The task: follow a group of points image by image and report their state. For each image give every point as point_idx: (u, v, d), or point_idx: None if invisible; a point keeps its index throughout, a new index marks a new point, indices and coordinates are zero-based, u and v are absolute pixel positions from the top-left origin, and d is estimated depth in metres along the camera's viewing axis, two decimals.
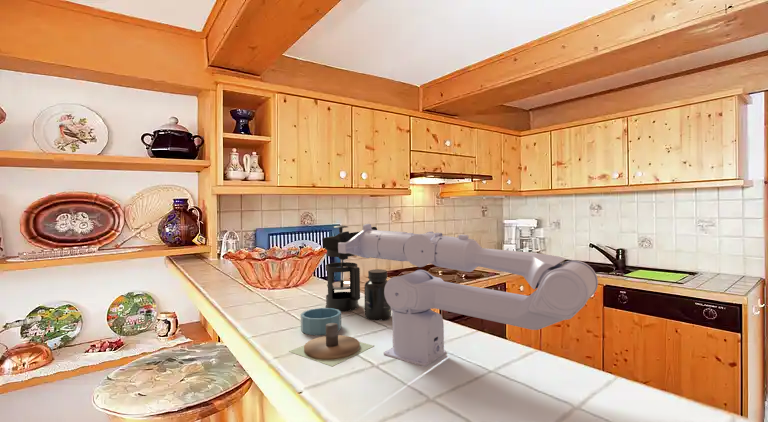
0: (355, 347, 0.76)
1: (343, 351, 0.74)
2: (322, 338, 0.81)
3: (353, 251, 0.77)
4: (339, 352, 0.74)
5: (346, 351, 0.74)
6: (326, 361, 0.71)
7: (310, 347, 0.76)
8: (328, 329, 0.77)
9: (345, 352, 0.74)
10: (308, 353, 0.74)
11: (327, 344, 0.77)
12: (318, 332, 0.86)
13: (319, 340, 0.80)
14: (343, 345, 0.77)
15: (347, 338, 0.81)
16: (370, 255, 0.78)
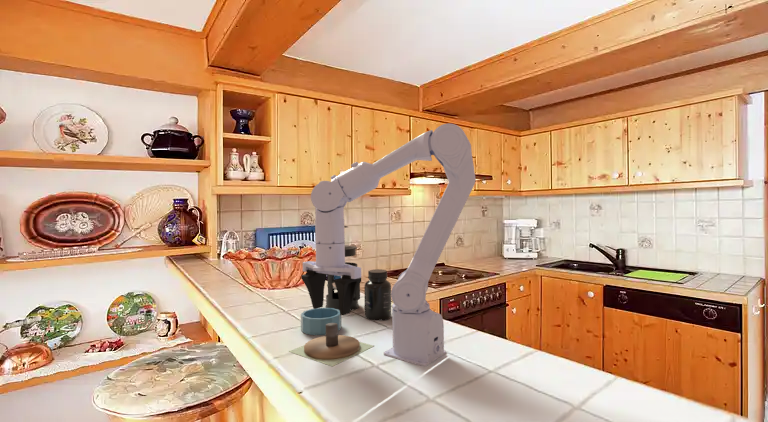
0: (355, 347, 0.76)
1: (343, 351, 0.74)
2: (322, 338, 0.81)
3: (351, 267, 0.75)
4: (339, 352, 0.74)
5: (346, 351, 0.74)
6: (326, 361, 0.71)
7: (310, 347, 0.76)
8: (328, 329, 0.77)
9: (345, 352, 0.74)
10: (308, 353, 0.74)
11: (327, 344, 0.77)
12: (318, 332, 0.86)
13: (319, 340, 0.80)
14: (343, 345, 0.77)
15: (346, 338, 0.81)
16: (344, 254, 0.78)
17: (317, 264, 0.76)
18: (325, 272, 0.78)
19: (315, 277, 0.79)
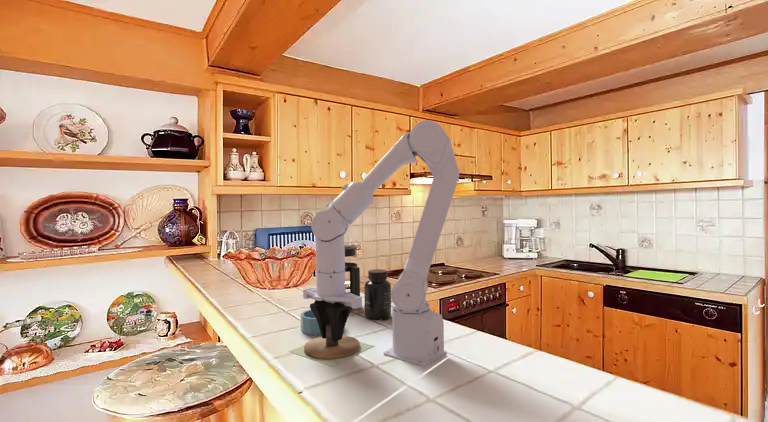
0: (355, 347, 0.76)
1: (343, 351, 0.74)
2: (322, 338, 0.81)
3: (352, 295, 0.75)
4: (340, 352, 0.74)
5: (346, 351, 0.74)
6: (326, 361, 0.71)
7: (310, 347, 0.76)
8: (328, 329, 0.77)
9: (345, 352, 0.74)
10: (308, 353, 0.74)
11: (327, 344, 0.77)
12: (318, 332, 0.86)
13: (319, 340, 0.80)
14: (343, 345, 0.77)
15: (346, 338, 0.81)
16: None
17: (318, 293, 0.76)
18: (326, 300, 0.78)
19: (324, 306, 0.78)
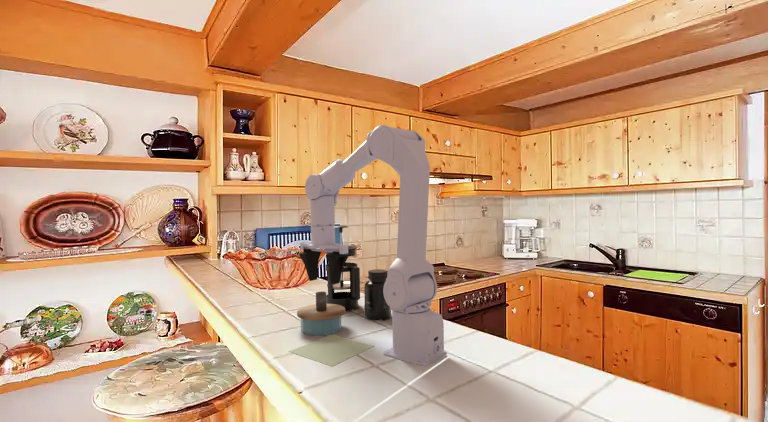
0: (341, 311, 0.89)
1: (332, 313, 0.87)
2: (312, 306, 0.94)
3: (340, 245, 0.91)
4: (329, 314, 0.86)
5: (334, 313, 0.87)
6: (326, 361, 0.71)
7: (302, 312, 0.89)
8: (318, 296, 0.89)
9: (333, 314, 0.86)
10: (301, 316, 0.86)
11: (317, 309, 0.89)
12: (319, 332, 0.86)
13: (309, 307, 0.92)
14: (331, 310, 0.90)
15: (333, 305, 0.94)
16: (334, 235, 0.94)
17: (312, 243, 0.92)
18: (319, 250, 0.94)
19: (310, 254, 0.95)
